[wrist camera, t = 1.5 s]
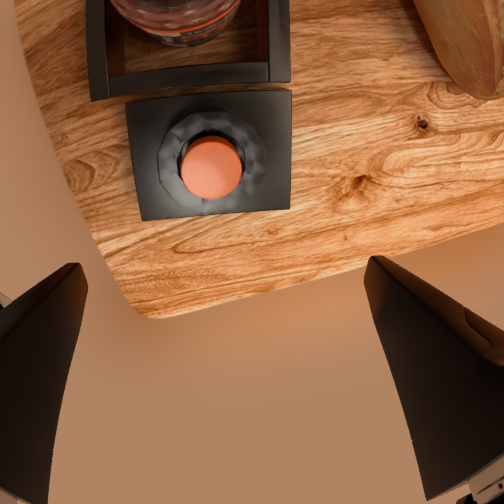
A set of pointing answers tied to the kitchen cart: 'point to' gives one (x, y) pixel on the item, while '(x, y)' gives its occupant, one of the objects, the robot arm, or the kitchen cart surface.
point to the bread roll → (468, 42)
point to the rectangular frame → (120, 84)
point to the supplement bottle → (179, 19)
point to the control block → (211, 124)
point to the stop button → (211, 167)
